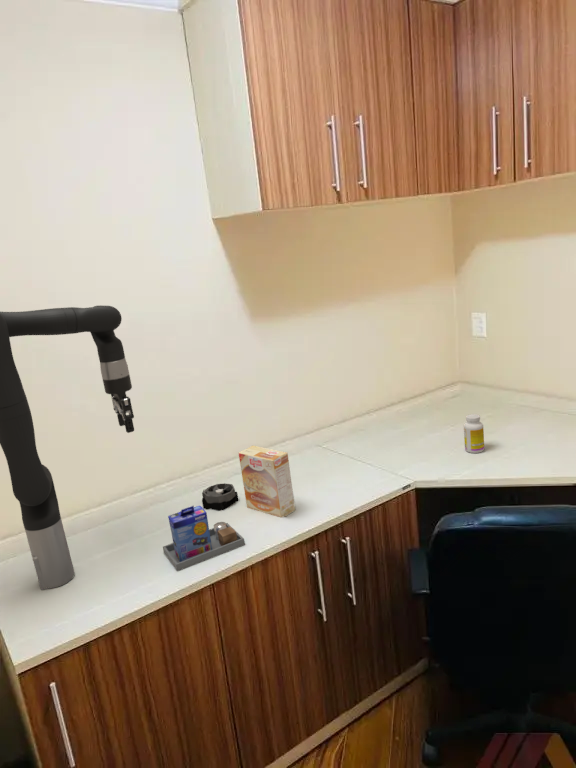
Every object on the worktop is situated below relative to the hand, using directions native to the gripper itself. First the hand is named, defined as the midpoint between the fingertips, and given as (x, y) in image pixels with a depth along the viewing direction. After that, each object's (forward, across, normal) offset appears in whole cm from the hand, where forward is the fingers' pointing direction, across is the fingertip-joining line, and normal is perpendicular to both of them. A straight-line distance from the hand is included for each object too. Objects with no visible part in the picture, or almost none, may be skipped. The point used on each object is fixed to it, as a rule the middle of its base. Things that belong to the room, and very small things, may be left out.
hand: (126, 428), depth 172 cm
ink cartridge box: (+34, -22, -7) cm, 41 cm away
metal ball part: (+34, -20, -16) cm, 42 cm away
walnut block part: (+34, -24, -16) cm, 45 cm away
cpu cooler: (+34, +2, -25) cm, 43 cm away
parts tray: (+34, -22, -10) cm, 42 cm away
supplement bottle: (+34, -24, -113) cm, 121 cm away
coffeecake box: (+34, -13, -36) cm, 51 cm away
